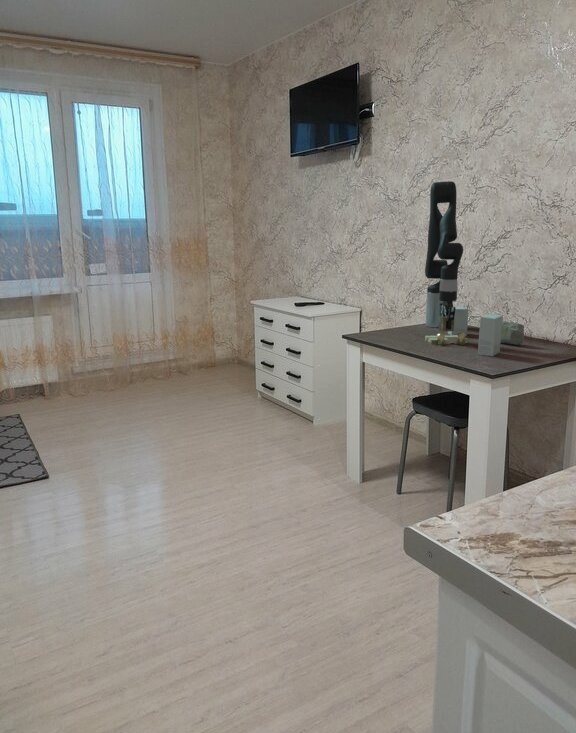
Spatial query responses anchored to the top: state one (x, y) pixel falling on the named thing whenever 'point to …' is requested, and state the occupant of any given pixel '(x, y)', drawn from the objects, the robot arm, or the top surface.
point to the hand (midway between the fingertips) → (446, 328)
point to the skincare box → (490, 334)
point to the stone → (512, 333)
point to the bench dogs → (442, 336)
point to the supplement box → (460, 321)
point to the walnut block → (444, 324)
